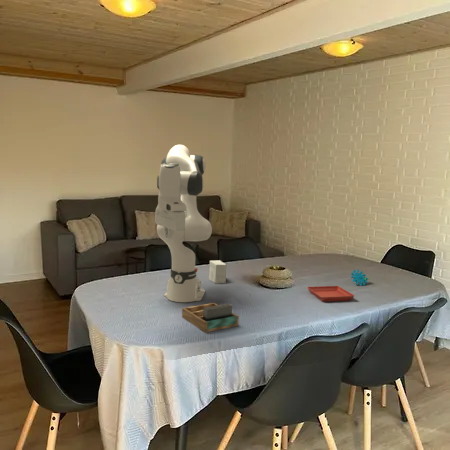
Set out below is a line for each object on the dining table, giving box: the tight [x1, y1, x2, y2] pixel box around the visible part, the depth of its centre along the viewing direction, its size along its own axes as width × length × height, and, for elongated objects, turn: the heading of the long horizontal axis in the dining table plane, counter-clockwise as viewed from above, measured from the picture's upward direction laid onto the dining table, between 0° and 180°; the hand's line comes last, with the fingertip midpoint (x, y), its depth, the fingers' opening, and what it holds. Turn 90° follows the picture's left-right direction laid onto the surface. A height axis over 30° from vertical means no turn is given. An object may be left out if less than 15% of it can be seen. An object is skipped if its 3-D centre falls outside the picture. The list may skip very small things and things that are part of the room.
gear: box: [350, 269, 370, 287], centre depth 262 cm, size 11×6×10 cm
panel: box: [203, 303, 233, 321], centre depth 189 cm, size 12×3×7 cm, turn 123°
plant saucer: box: [306, 285, 355, 303], centre depth 235 cm, size 18×18×3 cm
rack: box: [181, 302, 240, 333], centre depth 194 cm, size 16×19×4 cm
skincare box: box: [208, 259, 227, 284], centre depth 255 cm, size 10×6×10 cm, turn 22°
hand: (168, 238), depth 186 cm, fingers closed
